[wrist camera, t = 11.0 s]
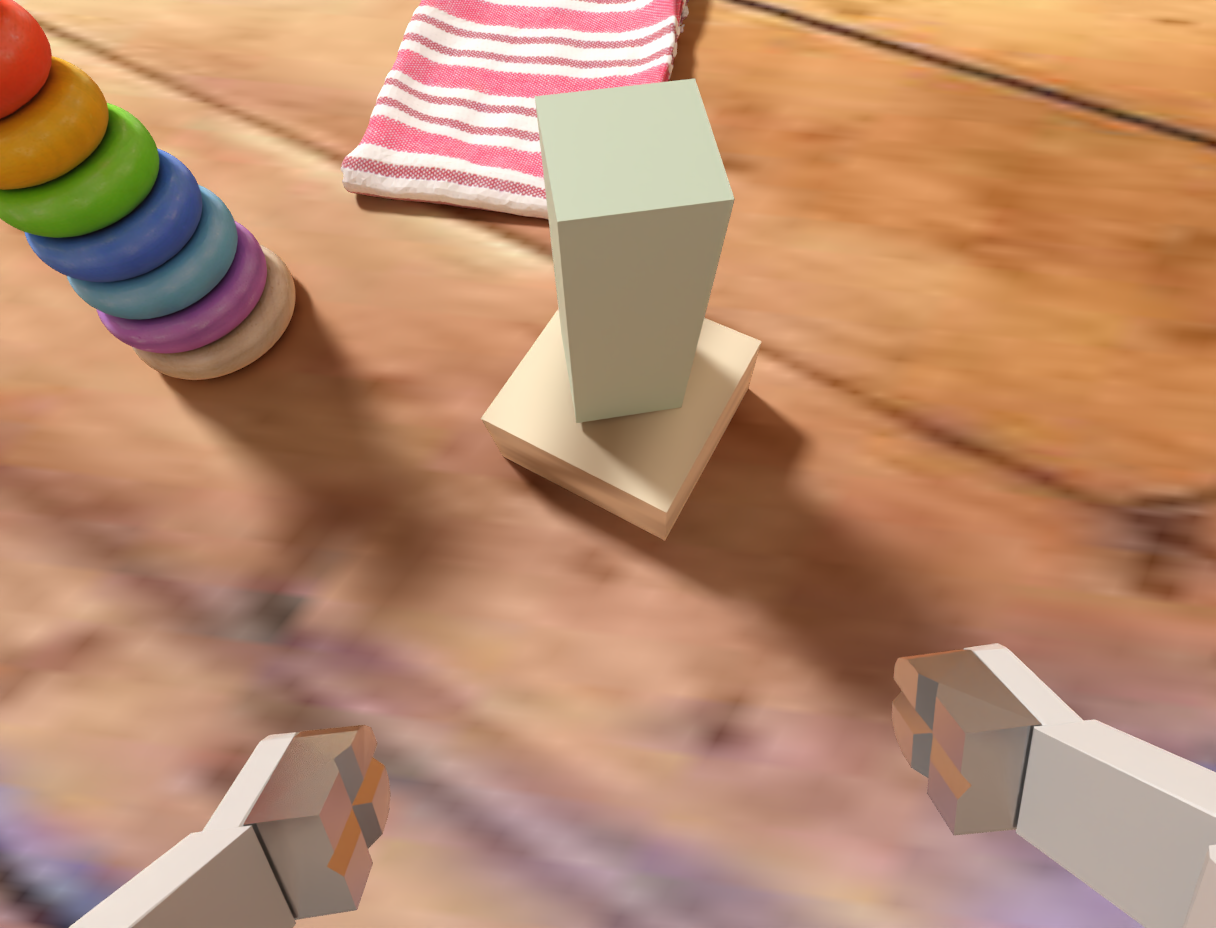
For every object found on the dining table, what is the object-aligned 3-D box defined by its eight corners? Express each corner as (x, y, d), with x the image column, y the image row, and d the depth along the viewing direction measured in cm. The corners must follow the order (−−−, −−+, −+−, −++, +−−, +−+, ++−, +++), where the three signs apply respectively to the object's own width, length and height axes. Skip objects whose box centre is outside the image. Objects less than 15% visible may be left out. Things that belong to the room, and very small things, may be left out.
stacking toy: (333, 317, 30) (-90, -218, 13) (192, 418, 28) (-514, -47, 11) (256, 233, 33) (-181, -303, 16) (122, 321, 31) (-536, -176, 14)
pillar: (576, 422, 23) (557, 221, 13) (561, 333, 24) (534, 96, 15) (681, 407, 23) (734, 199, 14) (660, 319, 24) (694, 78, 15)
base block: (504, 459, 27) (481, 418, 23) (594, 325, 29) (586, 269, 26) (664, 543, 25) (666, 512, 21) (747, 392, 27) (761, 341, 24)
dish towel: (700, -31, 40) (704, -96, 37) (650, 239, 32) (650, 184, 28) (456, -37, 42) (440, -99, 39) (346, 214, 34) (314, 161, 30)
